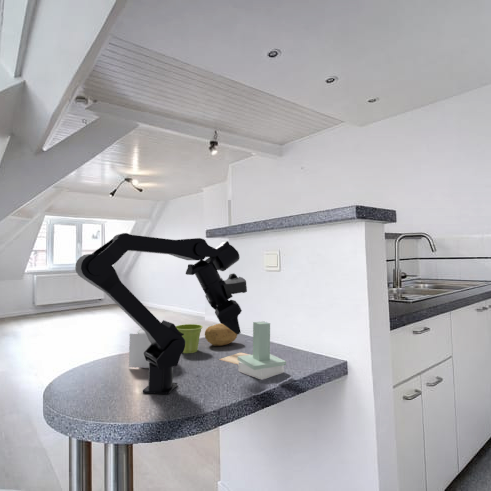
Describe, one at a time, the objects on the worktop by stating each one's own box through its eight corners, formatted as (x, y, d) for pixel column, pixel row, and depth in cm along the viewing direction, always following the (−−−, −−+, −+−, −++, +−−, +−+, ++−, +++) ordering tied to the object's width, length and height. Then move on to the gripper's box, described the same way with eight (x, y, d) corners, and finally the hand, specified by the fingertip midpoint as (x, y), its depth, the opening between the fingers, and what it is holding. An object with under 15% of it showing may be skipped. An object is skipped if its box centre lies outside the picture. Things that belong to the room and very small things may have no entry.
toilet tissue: (178, 360, 105) (179, 327, 106) (159, 371, 93) (160, 335, 94) (148, 357, 108) (149, 326, 108) (126, 368, 96) (127, 333, 97)
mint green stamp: (254, 369, 86) (254, 327, 87) (237, 359, 95) (238, 321, 96) (286, 365, 91) (286, 324, 92) (267, 355, 100) (267, 318, 101)
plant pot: (196, 356, 109) (197, 329, 110) (169, 354, 111) (170, 328, 111) (205, 349, 118) (206, 324, 119) (180, 347, 120) (181, 323, 121)
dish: (261, 381, 87) (261, 369, 87) (238, 372, 93) (238, 362, 93) (283, 373, 93) (283, 362, 93) (260, 366, 99) (260, 356, 100)
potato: (197, 346, 123) (198, 324, 123) (226, 340, 132) (227, 320, 133) (213, 351, 116) (214, 328, 116) (243, 345, 125) (243, 323, 126)
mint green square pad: (245, 367, 98) (245, 366, 98) (218, 360, 105) (218, 359, 105) (267, 359, 106) (267, 358, 106) (240, 353, 113) (240, 352, 113)
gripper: (246, 274, 83) (270, 325, 87) (228, 259, 100) (249, 302, 104) (206, 296, 81) (233, 347, 85) (195, 277, 98) (218, 320, 102)
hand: (234, 326), depth 94 cm, fingers open, 9 cm apart
